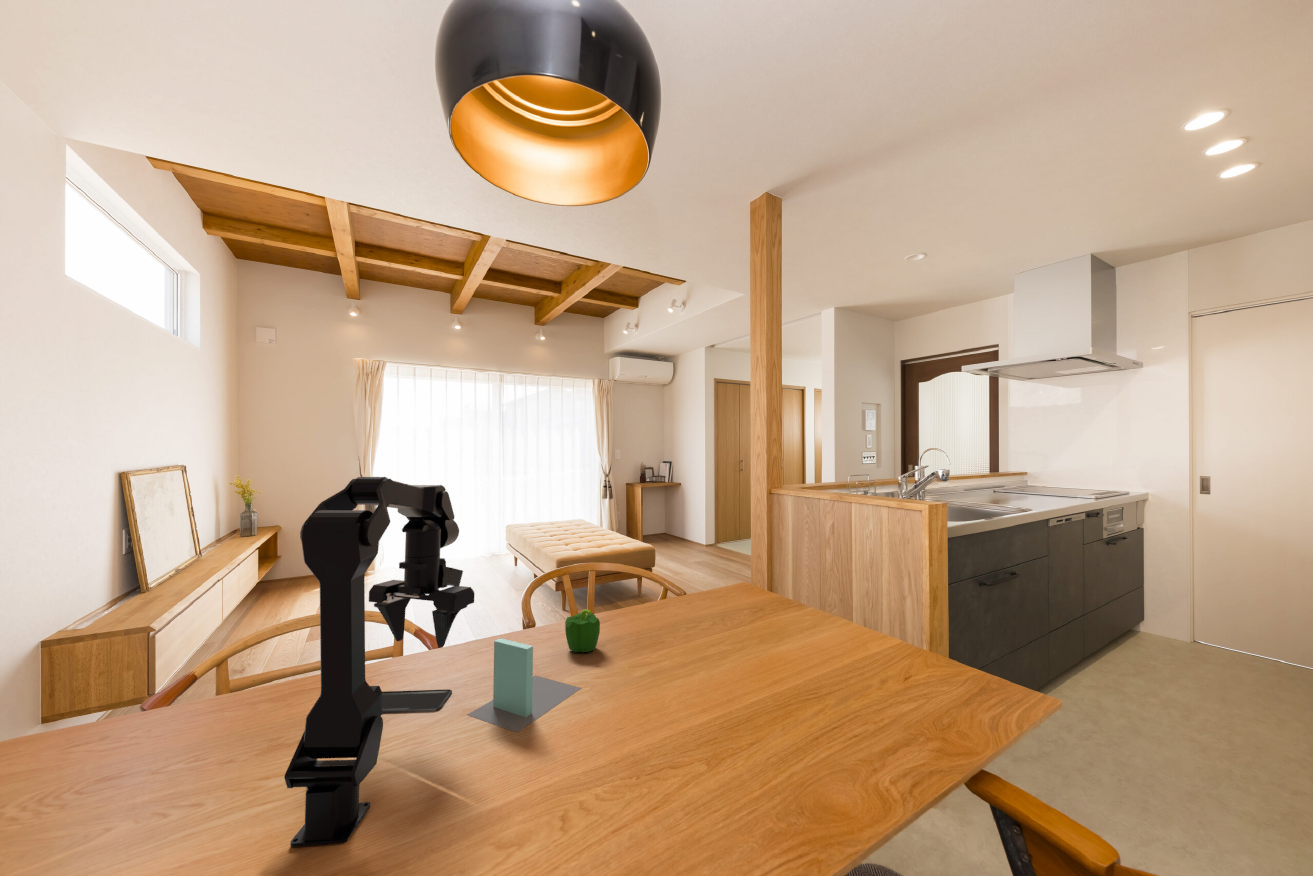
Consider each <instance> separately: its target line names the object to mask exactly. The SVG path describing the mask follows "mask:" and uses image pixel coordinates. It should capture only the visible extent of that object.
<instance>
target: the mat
mask: <svg viewBox="0 0 1313 876" xmlns="http://www.w3.org/2000/svg"><path fill="white" fill-rule="evenodd" d="M581 689H582V687H579V686H576V685H571V684H568V683H565V682H561V681H557V680H555V679H550V678H547V677H543V676H539V675H533V688H532V714H531V715H529V716H528V717H526V718H525V717H522V716H519V715H516V714H513V713H510V712H507V711H504V710H501V709H498V708H495V707H493V699H492V700H490V701H488V702H487V703H485V704H483V705H481V706H479V707H478V708H475V709H474V710H473V711H470V712H469V713H467V714H466V715H467V716H469V717H471V718H474V719H477V720H480V721H483V722H487V723H489V724H490V725H491V724H492V725H495V726H497V727H500V728H503V729H506V730H509V731H511V732H515V733H516V734H517V733H519V732H521V731H522V730H523V729H525V728H526V727H528V726H529V725H531V724H532V723H534V722H535V721H537V720H538V719H539V718H541V717H542V716H543V715H545V714H547V713H548V712H549V711H551V710H553V708H555V707H556V706H558V705H559V704H561V703H562V702H563V701H565V700H567V699H568V698H570V697H571V696H573V695H574V694H575V693H577V692H579V691H580V690H581Z"/></svg>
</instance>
